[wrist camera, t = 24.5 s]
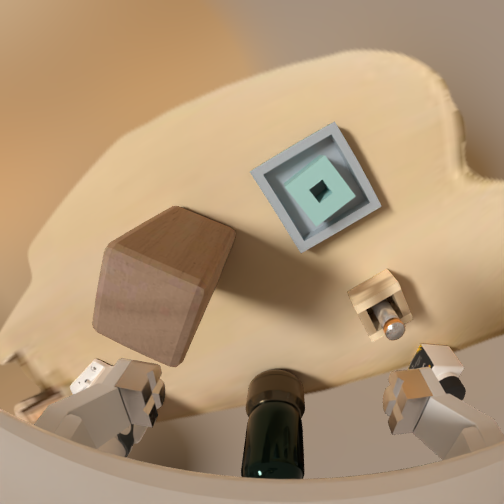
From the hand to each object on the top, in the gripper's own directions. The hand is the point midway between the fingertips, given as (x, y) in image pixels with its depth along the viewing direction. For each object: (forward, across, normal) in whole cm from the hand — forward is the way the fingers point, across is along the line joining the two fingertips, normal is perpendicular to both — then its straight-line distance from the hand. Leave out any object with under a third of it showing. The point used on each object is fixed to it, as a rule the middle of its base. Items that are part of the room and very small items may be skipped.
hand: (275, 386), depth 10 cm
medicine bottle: (+34, -28, +26) cm, 52 cm away
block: (+34, +12, +6) cm, 37 cm away
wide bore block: (+34, -16, +13) cm, 40 cm away
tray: (+34, -5, -3) cm, 35 cm away
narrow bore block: (+33, -5, -3) cm, 34 cm away
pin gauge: (+34, -16, +13) cm, 40 cm away
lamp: (+34, -1, +31) cm, 46 cm away
